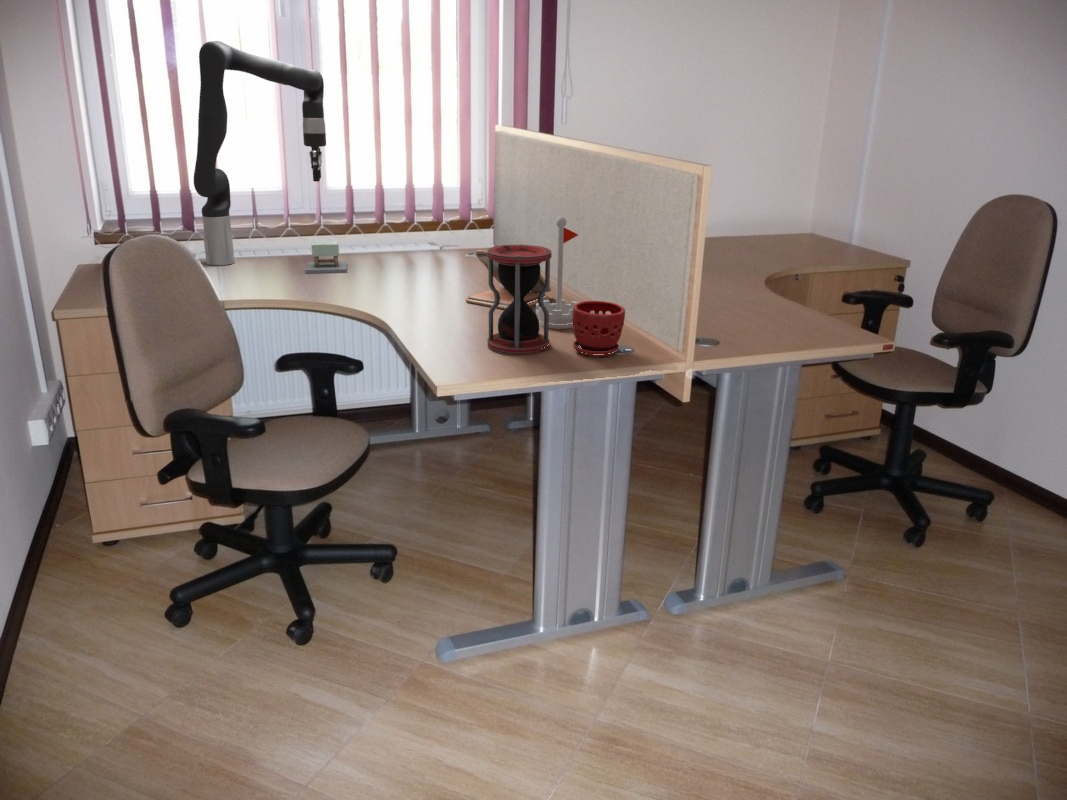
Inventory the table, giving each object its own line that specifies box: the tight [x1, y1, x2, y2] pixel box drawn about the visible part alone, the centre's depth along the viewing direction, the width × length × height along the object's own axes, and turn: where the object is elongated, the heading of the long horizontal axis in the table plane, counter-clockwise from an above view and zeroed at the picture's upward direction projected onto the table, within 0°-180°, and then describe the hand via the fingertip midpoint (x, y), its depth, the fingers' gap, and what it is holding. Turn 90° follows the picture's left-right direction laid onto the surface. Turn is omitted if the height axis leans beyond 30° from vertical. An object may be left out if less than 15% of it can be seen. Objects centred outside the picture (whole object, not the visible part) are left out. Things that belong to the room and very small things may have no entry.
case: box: [465, 249, 552, 311], centre depth 265 cm, size 20×21×16 cm
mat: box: [304, 260, 348, 275], centre depth 306 cm, size 14×14×1 cm
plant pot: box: [572, 300, 626, 358], centre depth 217 cm, size 13×13×12 cm
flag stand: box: [535, 216, 579, 330], centre depth 238 cm, size 13×13×30 cm
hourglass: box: [486, 243, 553, 356], centre depth 218 cm, size 16×16×25 cm
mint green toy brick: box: [311, 240, 340, 267], centre depth 304 cm, size 6×9×8 cm, turn 100°
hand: (317, 179), depth 301 cm, fingers open, 8 cm apart
